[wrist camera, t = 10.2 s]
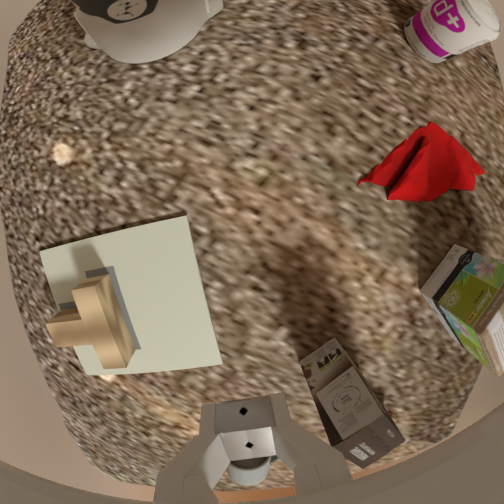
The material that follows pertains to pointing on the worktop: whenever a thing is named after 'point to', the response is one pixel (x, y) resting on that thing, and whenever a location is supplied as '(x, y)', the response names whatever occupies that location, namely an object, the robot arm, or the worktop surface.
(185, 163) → the worktop surface
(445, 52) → the supplement can
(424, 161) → the cloth
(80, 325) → the maple T block
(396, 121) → the worktop surface
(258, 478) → the ceramic mug
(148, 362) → the sage board
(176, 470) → the robot arm
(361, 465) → the coffee box
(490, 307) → the tea box
